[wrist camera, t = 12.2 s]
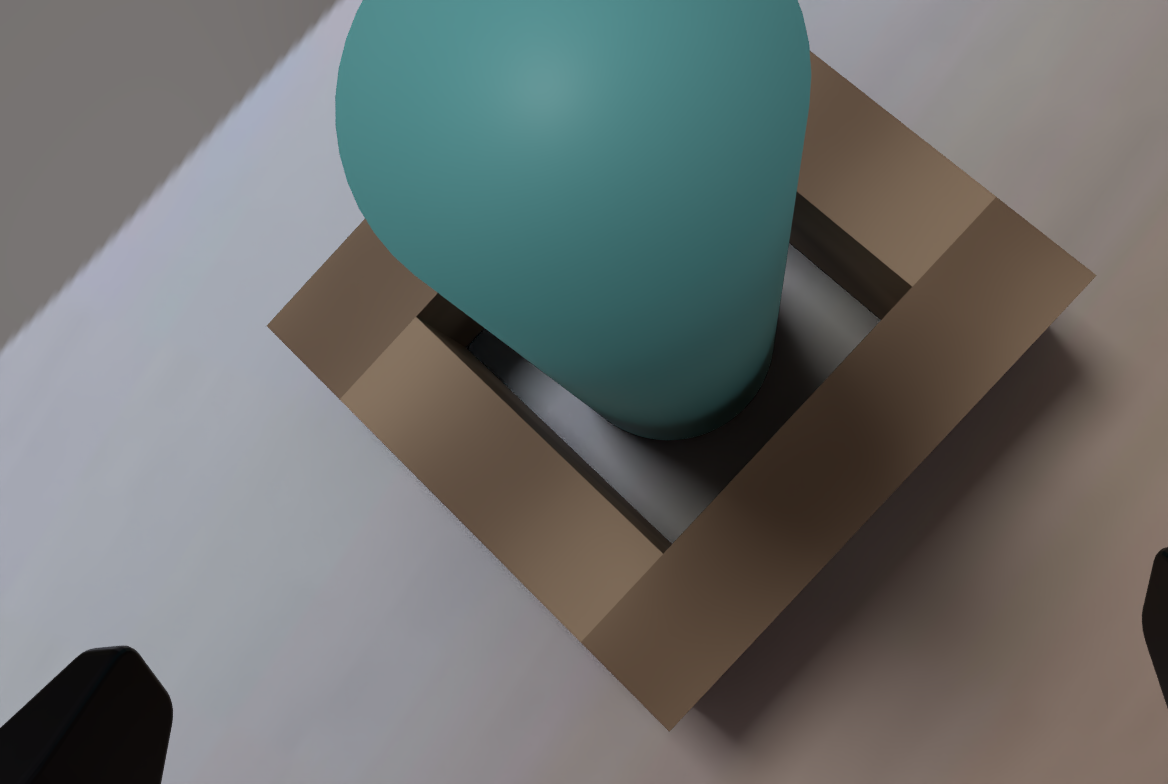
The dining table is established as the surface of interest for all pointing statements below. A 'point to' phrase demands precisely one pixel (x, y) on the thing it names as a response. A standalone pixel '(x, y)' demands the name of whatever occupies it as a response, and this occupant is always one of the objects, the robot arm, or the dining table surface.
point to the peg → (591, 183)
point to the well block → (784, 464)
